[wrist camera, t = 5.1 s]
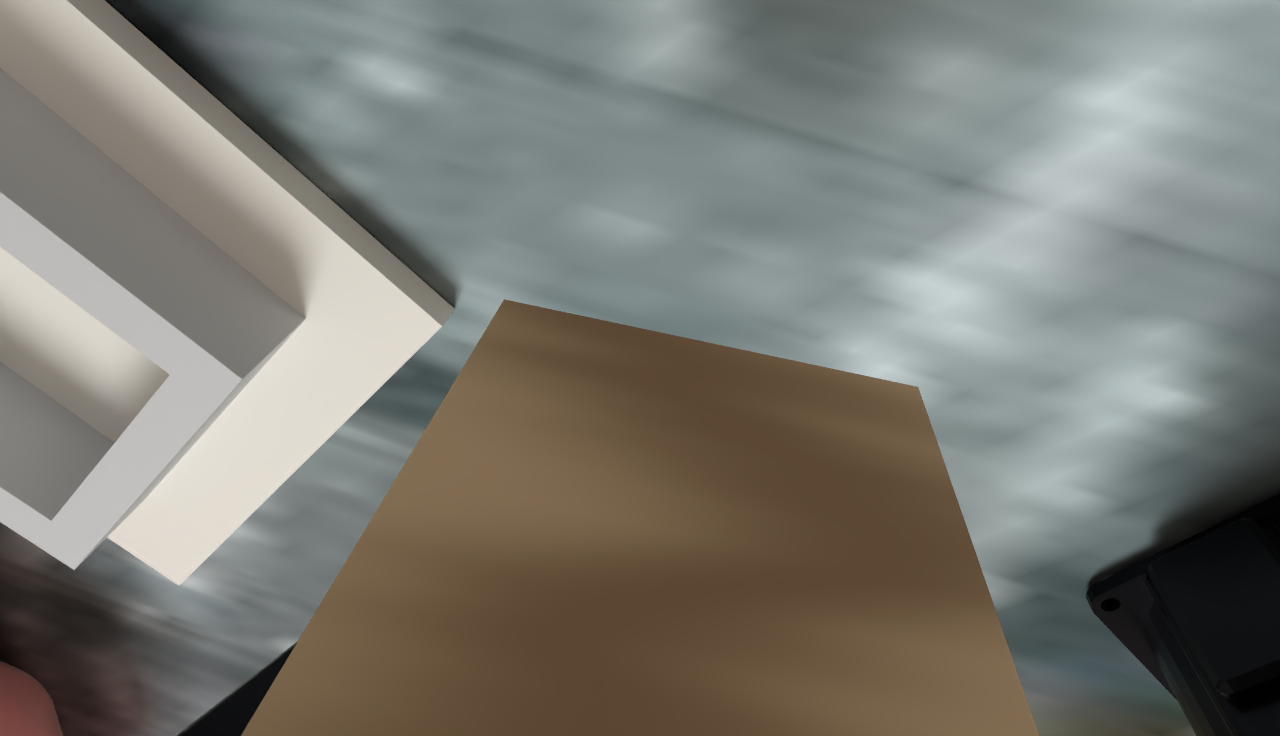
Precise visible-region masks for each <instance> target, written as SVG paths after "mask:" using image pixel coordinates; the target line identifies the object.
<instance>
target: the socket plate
mask: <svg viewBox="0 0 1280 736" xmlns="http://www.w3.org/2000/svg"><path fill="white" fill-rule="evenodd" d="M453 310H454V308H453V307H452V306H451V305H450V304H449V303H448V302H446V301H445V300H444V299H443V298H442V297H441V296H440V295H439V294H437V293H436V292H435V291H434V290H433V289H432V288H431V287H429V286H428V285H427V284H426V283H425V282H424V281H423V280H422V279H420V278H419V277H418V276H417V275H416V274H415V273H414V272H412V271H411V270H410V269H409V268H408V267H407V266H406V265H404V264H403V263H402V262H401V261H400V260H399V259H398V258H397V257H395V256H394V255H393V254H392V253H391V252H390V251H389V250H387V249H386V248H385V247H384V246H383V245H382V244H381V243H380V242H378V241H377V240H376V239H375V238H374V237H373V236H372V235H370V234H369V233H368V232H367V231H366V230H365V229H364V228H363V227H361V226H360V225H359V224H358V223H357V222H356V221H355V220H353V219H352V218H351V217H350V216H349V215H348V214H347V213H345V212H344V211H343V210H342V209H341V208H340V207H339V206H338V205H336V204H335V203H334V202H333V201H332V200H331V199H330V198H328V197H327V196H326V195H325V194H324V193H323V192H322V191H321V190H319V189H318V188H317V187H316V186H315V185H314V184H313V183H311V182H310V181H309V180H308V179H307V178H306V177H305V176H304V175H302V174H301V173H300V172H299V171H298V170H297V169H296V168H294V167H293V166H292V165H291V164H290V163H289V162H288V161H286V160H285V159H284V158H283V157H282V156H281V155H280V154H279V153H277V152H276V151H275V150H274V149H273V148H272V147H271V146H269V145H268V144H267V143H266V142H265V141H264V140H263V139H262V138H260V137H259V136H258V135H257V134H256V133H255V132H254V131H252V130H251V129H250V128H249V127H248V126H247V125H246V124H244V123H243V122H242V121H241V120H240V119H239V118H238V117H237V116H235V115H234V114H233V113H232V112H231V111H230V110H229V109H227V108H226V107H225V106H224V105H223V104H222V103H221V102H220V101H218V100H217V99H216V98H215V97H214V96H213V95H212V94H210V93H209V92H208V91H207V90H206V89H205V88H204V87H203V86H201V85H200V84H199V83H198V82H197V81H196V80H195V79H193V78H192V77H191V76H190V75H189V74H188V73H187V72H185V71H184V70H183V69H182V68H181V67H180V66H179V65H178V64H176V63H175V62H174V61H173V60H172V59H171V58H170V57H168V56H167V55H166V54H165V53H164V52H163V51H162V50H161V49H159V48H158V47H157V46H156V45H155V44H154V43H153V42H151V41H150V40H149V39H148V38H147V37H146V36H145V35H144V34H142V33H141V32H140V31H139V30H138V29H137V28H136V27H134V26H133V25H132V24H131V23H130V22H129V21H128V20H126V19H125V18H124V17H123V16H122V15H121V14H120V13H119V12H117V11H116V10H115V9H114V8H113V7H112V6H111V5H109V4H108V3H107V2H106V1H105V0H0V522H1V523H3V524H4V525H6V526H7V527H9V528H10V529H12V530H13V531H15V532H16V533H18V534H19V535H21V536H22V537H24V538H26V539H27V540H29V541H30V542H32V543H33V544H35V545H36V546H38V547H39V548H41V549H42V550H44V551H46V552H47V553H49V554H50V555H52V556H53V557H55V558H56V559H58V560H59V561H61V562H62V563H64V564H66V565H67V566H69V567H70V568H72V569H73V570H75V569H76V568H77V567H78V566H79V565H80V564H81V563H82V562H83V561H84V560H85V559H86V558H87V557H88V556H89V555H90V554H91V553H92V552H93V551H94V550H95V549H96V548H97V547H98V546H99V545H100V544H101V543H102V542H103V541H104V540H105V539H106V538H109V539H110V540H112V541H113V542H115V543H116V544H118V545H119V546H121V547H122V548H124V549H125V550H127V551H128V552H130V553H131V554H133V555H134V556H136V557H137V558H139V559H140V560H142V561H143V562H144V563H146V564H147V565H149V566H150V567H152V568H153V569H155V570H156V571H158V572H159V573H161V574H162V575H164V576H165V577H167V578H168V579H170V580H171V581H173V582H174V583H176V584H177V585H180V584H181V583H182V582H183V581H184V580H185V579H186V578H187V577H188V576H189V575H190V574H191V573H192V572H193V571H194V570H195V569H196V568H197V567H198V566H199V565H200V564H201V563H203V562H204V561H205V560H206V559H207V558H208V557H209V556H210V555H211V554H212V553H213V552H214V551H215V550H216V549H217V548H218V547H219V546H220V545H221V544H222V543H223V542H224V541H225V540H226V539H227V538H228V537H229V536H230V535H231V534H232V533H233V532H234V531H235V530H236V529H237V528H238V527H239V526H240V525H241V524H242V523H243V522H244V521H245V520H246V519H247V518H248V517H249V516H250V515H251V514H252V513H253V512H254V511H255V510H256V509H257V508H258V507H259V506H260V505H261V504H262V503H263V502H264V501H265V500H266V499H267V498H268V497H269V496H270V495H271V494H273V493H274V492H275V491H276V490H277V489H278V488H279V487H280V486H281V485H282V484H283V483H284V482H285V481H286V480H287V479H288V478H289V477H290V476H291V475H292V474H293V473H294V472H295V471H296V470H297V469H298V468H299V467H300V466H301V465H302V464H303V463H304V462H305V461H306V460H307V459H308V458H309V457H310V456H311V455H312V454H313V453H314V452H315V451H316V450H317V449H318V448H319V447H320V446H321V445H322V444H323V443H324V442H325V441H326V440H327V439H328V438H329V437H330V436H331V435H332V434H333V433H334V432H335V431H336V430H337V429H338V428H339V427H340V426H341V425H343V424H344V423H345V422H346V421H347V420H348V419H349V418H350V417H351V416H352V415H353V414H354V413H355V412H356V411H357V410H358V409H359V408H360V407H361V406H362V405H363V404H364V403H365V402H366V401H367V400H368V399H369V398H370V397H371V396H372V395H373V394H374V393H375V392H376V391H377V390H378V389H379V388H380V387H381V386H382V385H383V384H384V383H385V382H386V381H387V380H388V379H389V378H390V377H391V376H392V375H393V374H394V373H395V372H396V371H397V370H398V369H399V368H400V367H401V366H402V365H403V364H404V363H405V362H406V361H407V360H408V359H409V358H410V357H412V356H413V355H414V354H415V353H416V352H417V351H418V350H419V349H420V348H421V347H422V346H423V345H424V344H425V343H426V342H427V341H428V340H429V339H430V338H431V337H432V336H433V335H434V334H435V333H436V332H437V331H438V330H439V329H440V328H441V327H442V326H443V324H444V323H445V322H446V320H447V319H448V317H449V316H450V315H451V313H452V312H453Z"/></svg>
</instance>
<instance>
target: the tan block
mask: <svg viewBox="0 0 1280 736" xmlns="http://www.w3.org/2000/svg"><path fill="white" fill-rule="evenodd" d="M241 736H1039V734H1038V731H1037V728H1036V725H1035V723H1034V720H1033V717H1032V714H1031V711H1030V708H1029V705H1028V702H1027V700H1026V697H1025V694H1024V691H1023V688H1022V685H1021V682H1020V679H1019V676H1018V674H1017V671H1016V668H1015V665H1014V662H1013V659H1012V656H1011V653H1010V651H1009V648H1008V645H1007V642H1006V639H1005V636H1004V633H1003V630H1002V628H1001V625H1000V622H999V619H998V616H997V613H996V610H995V607H994V605H993V602H992V599H991V596H990V593H989V590H988V587H987V584H986V581H985V579H984V576H983V573H982V570H981V567H980V564H979V561H978V558H977V556H976V553H975V550H974V547H973V544H972V541H971V538H970V535H969V533H968V530H967V527H966V524H965V521H964V518H963V515H962V512H961V509H960V507H959V504H958V501H957V498H956V495H955V492H954V489H953V486H952V484H951V481H950V478H949V475H948V472H947V469H946V466H945V463H944V461H943V458H942V455H941V452H940V449H939V446H938V443H937V440H936V437H935V435H934V432H933V429H932V426H931V423H930V420H929V417H928V414H927V412H926V409H925V406H924V403H923V400H922V397H921V394H920V391H919V389H918V387H915V386H911V385H906V384H901V383H897V382H892V381H887V380H882V379H878V378H873V377H868V376H863V375H859V374H854V373H849V372H845V371H840V370H835V369H830V368H826V367H821V366H816V365H811V364H807V363H802V362H797V361H793V360H788V359H783V358H778V357H774V356H769V355H764V354H759V353H755V352H750V351H745V350H741V349H736V348H731V347H726V346H722V345H717V344H712V343H707V342H703V341H698V340H693V339H689V338H684V337H679V336H674V335H670V334H665V333H660V332H655V331H651V330H646V329H641V328H637V327H632V326H627V325H622V324H618V323H613V322H608V321H603V320H599V319H594V318H589V317H584V316H580V315H575V314H570V313H566V312H561V311H556V310H551V309H547V308H542V307H537V306H532V305H528V304H523V303H518V302H514V301H509V300H504V301H503V302H502V304H501V306H500V307H499V309H498V311H497V312H496V314H495V316H494V317H493V319H492V321H491V322H490V324H489V325H488V327H487V329H486V330H485V332H484V334H483V335H482V337H481V339H480V340H479V342H478V344H477V345H476V347H475V349H474V350H473V352H472V354H471V355H470V357H469V359H468V360H467V362H466V364H465V365H464V367H463V369H462V370H461V372H460V374H459V375H458V377H457V379H456V380H455V382H454V384H453V385H452V387H451V388H450V390H449V392H448V393H447V395H446V397H445V398H444V400H443V402H442V403H441V405H440V407H439V408H438V410H437V412H436V413H435V415H434V417H433V418H432V420H431V422H430V423H429V425H428V427H427V428H426V430H425V432H424V433H423V435H422V437H421V438H420V440H419V442H418V443H417V445H416V446H415V448H414V450H413V451H412V453H411V455H410V456H409V458H408V460H407V461H406V463H405V465H404V466H403V468H402V470H401V471H400V473H399V475H398V476H397V478H396V480H395V481H394V483H393V485H392V486H391V488H390V490H389V491H388V493H387V495H386V496H385V498H384V500H383V501H382V503H381V505H380V506H379V508H378V509H377V511H376V513H375V514H374V516H373V518H372V519H371V521H370V523H369V524H368V526H367V528H366V529H365V531H364V533H363V534H362V536H361V538H360V539H359V541H358V543H357V544H356V546H355V548H354V549H353V551H352V553H351V554H350V556H349V558H348V559H347V561H346V563H345V564H344V566H343V568H342V569H341V571H340V572H339V574H338V576H337V577H336V579H335V581H334V582H333V584H332V586H331V587H330V589H329V591H328V592H327V594H326V596H325V597H324V599H323V601H322V602H321V604H320V606H319V607H318V609H317V611H316V612H315V614H314V616H313V617H312V619H311V621H310V622H309V624H308V626H307V627H306V629H305V631H304V632H303V634H302V635H301V637H300V639H299V640H298V642H297V644H296V645H295V647H294V649H293V650H292V652H291V654H290V655H289V657H288V659H287V660H286V662H285V664H284V665H283V667H282V669H281V670H280V672H279V674H278V675H277V677H276V679H275V680H274V682H273V684H272V685H271V687H270V689H269V690H268V692H267V694H266V695H265V697H264V698H263V700H262V702H261V703H260V705H259V707H258V708H257V710H256V712H255V713H254V715H253V717H252V718H251V720H250V722H249V723H248V725H247V727H246V728H245V730H244V732H243V733H242V735H241Z"/></svg>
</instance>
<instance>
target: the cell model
mask: <svg viewBox="0 0 1280 736" xmlns="http://www.w3.org/2000/svg"><path fill="white" fill-rule="evenodd" d="M0 736H63V732H62V729H61V726H60V723H59V720H58V716H57V713H56V710H55V707H54V703H53V700H52V698H51V696H50V695H49V693H48V692H47V691H46V690H45V688H44V687H43V686H42V685H41V683H40V682H39V681H37V680H36V679H35V678H33V677H32V676H30V675H29V674H27V673H26V672H24V671H22V670H20V669H19V668H17V667H14V666H12V665H10V664H7V663H5V662H3V661H0Z"/></svg>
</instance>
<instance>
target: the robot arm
mask: <svg viewBox="0 0 1280 736" xmlns="http://www.w3.org/2000/svg"><path fill="white" fill-rule="evenodd" d="M1086 598H1087V600H1088V603H1089V605H1090V607H1091V609H1092V611H1093V612H1094V614H1095V615H1096V616H1097V617H1098V618H1099V619H1100V620H1101V621H1102V622H1103V623H1104V624H1105V625H1106V626H1107V627H1108V628H1109V629H1110V630H1111V631H1112V632H1113V634H1114V635H1115V636H1116V637H1117V638H1118V639H1119V640H1120V641H1121V642H1122V643H1123V644H1124V645H1125V646H1126V647H1127V648H1128V649H1129V650H1130V651H1131V652H1132V653H1133V654H1134V656H1135V657H1136V658H1137V659H1138V660H1139V661H1140V662H1141V663H1142V664H1143V665H1144V666H1145V667H1146V668H1147V669H1148V670H1149V671H1150V672H1151V673H1152V674H1153V675H1154V676H1155V678H1156V679H1157V680H1158V681H1159V682H1160V683H1161V684H1162V685H1163V686H1164V687H1165V688H1166V689H1167V690H1168V691H1169V692H1170V693H1171V694H1172V695H1173V696H1174V697H1175V698H1176V699H1177V701H1178V702H1179V704H1180V706H1181V708H1182V709H1183V711H1184V713H1185V715H1186V717H1187V719H1188V721H1189V723H1190V724H1191V726H1192V728H1193V730H1194V732H1195V734H1196V736H1280V494H1279V495H1277V496H1275V497H1273V498H1270V499H1268V500H1266V501H1264V502H1262V503H1260V504H1258V505H1256V506H1254V507H1252V508H1250V509H1248V510H1246V511H1244V512H1242V513H1240V514H1238V515H1236V516H1234V517H1232V518H1230V519H1227V520H1225V521H1223V522H1221V523H1219V524H1217V525H1215V526H1213V527H1211V528H1209V529H1207V530H1205V531H1203V532H1201V533H1199V534H1197V535H1195V536H1193V537H1191V538H1189V539H1187V540H1185V541H1182V542H1180V543H1178V544H1176V545H1174V546H1172V547H1170V548H1168V549H1166V550H1164V551H1162V552H1160V553H1158V554H1156V555H1154V556H1152V557H1150V558H1148V559H1146V560H1144V561H1142V562H1139V563H1137V564H1135V565H1133V566H1131V567H1129V568H1127V569H1125V570H1123V571H1121V572H1119V573H1117V574H1115V575H1113V576H1111V577H1109V578H1107V579H1105V580H1103V581H1101V582H1099V583H1096V584H1095V585H1093V586H1092V587H1090V588H1089V590H1088V591H1087V594H1086ZM1109 598H1112V599H1110V600H1107V601H1104V600H1106V599H1109ZM296 644H297V642H296V643H295V644H294V645H292V646H291V647H290V648H288V649H287V650H286V651H285V652H283V653H282V654H281V655H279V656H278V657H277V658H276V659H274V660H273V661H272V662H270V663H269V664H268V665H267V666H265V667H264V668H263V669H261V670H260V671H259V672H258V673H256V674H255V675H254V676H252V677H251V678H250V679H249V680H247V681H246V682H245V683H243V684H242V685H241V686H240V687H238V688H237V689H236V690H234V691H233V692H232V693H231V694H229V695H228V696H227V697H225V698H224V699H223V700H222V701H220V702H219V703H218V704H216V705H215V706H214V707H213V708H211V709H210V710H209V711H207V712H206V713H205V714H204V715H202V716H201V717H200V718H198V719H197V720H196V721H195V722H193V723H192V724H191V725H189V726H188V727H187V728H186V729H184V730H183V731H182V732H180V733H179V734H178V735H177V736H241V735H242V733H243V732H244V730H245V728H246V727H247V725H248V723H249V722H250V720H251V718H252V717H253V715H254V713H255V712H256V710H257V708H258V707H259V705H260V703H261V702H262V700H263V698H264V697H265V695H266V694H267V692H268V690H269V689H270V687H271V685H272V684H273V682H274V680H275V679H276V677H277V675H278V674H279V672H280V670H281V669H282V667H283V665H284V664H285V662H286V660H287V659H288V657H289V655H290V654H291V652H292V650H293V649H294V647H295V645H296Z"/></svg>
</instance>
